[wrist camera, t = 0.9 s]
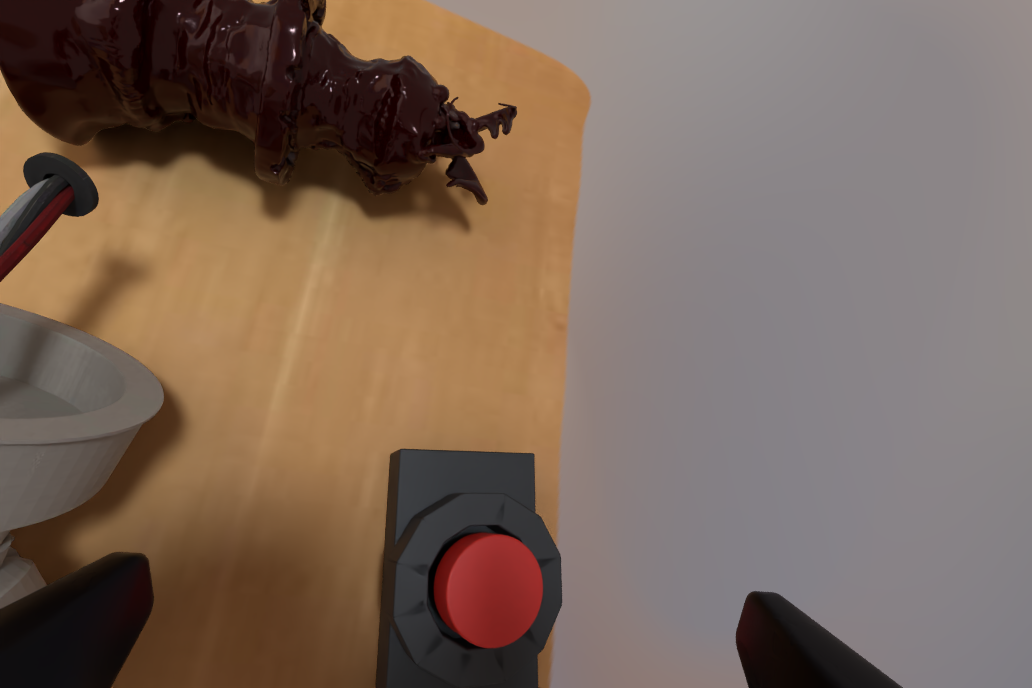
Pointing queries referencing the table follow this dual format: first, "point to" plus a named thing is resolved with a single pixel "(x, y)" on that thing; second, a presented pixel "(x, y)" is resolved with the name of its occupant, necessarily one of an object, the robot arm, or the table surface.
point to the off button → (488, 589)
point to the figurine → (236, 84)
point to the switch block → (420, 547)
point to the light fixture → (56, 385)
